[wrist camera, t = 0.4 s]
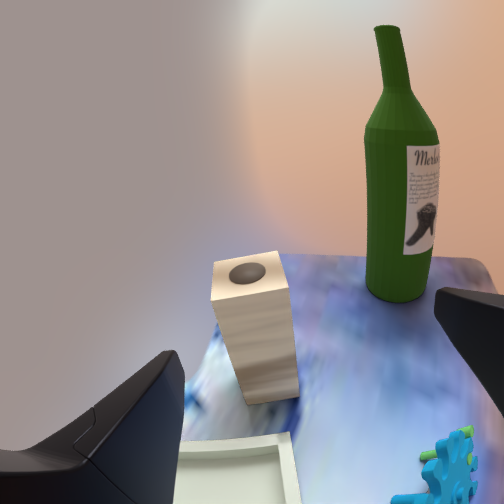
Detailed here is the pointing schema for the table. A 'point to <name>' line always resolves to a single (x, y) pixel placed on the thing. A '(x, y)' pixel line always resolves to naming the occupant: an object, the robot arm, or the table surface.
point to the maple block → (257, 325)
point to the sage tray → (237, 471)
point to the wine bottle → (399, 181)
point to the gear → (447, 471)
